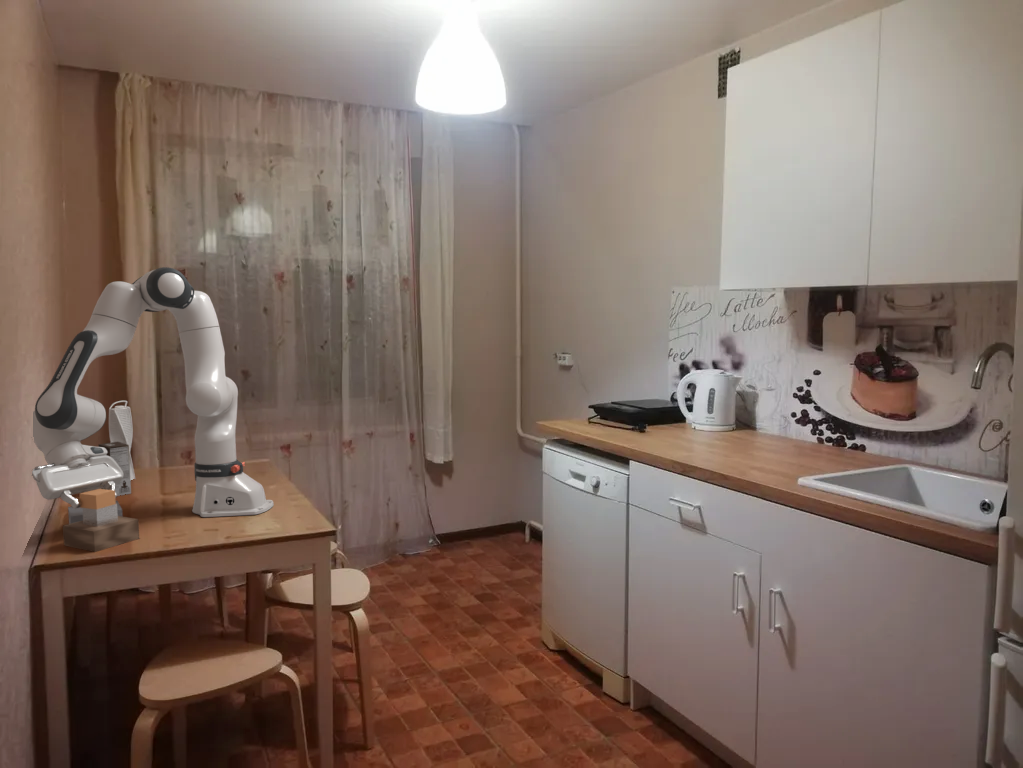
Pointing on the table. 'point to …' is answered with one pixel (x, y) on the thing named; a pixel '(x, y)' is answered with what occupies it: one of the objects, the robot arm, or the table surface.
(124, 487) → the coffee box
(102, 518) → the housing base
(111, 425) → the skyscraper
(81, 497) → the cover
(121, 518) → the stand
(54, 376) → the robot arm
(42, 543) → the table surface
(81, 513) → the stand
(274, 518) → the table surface
